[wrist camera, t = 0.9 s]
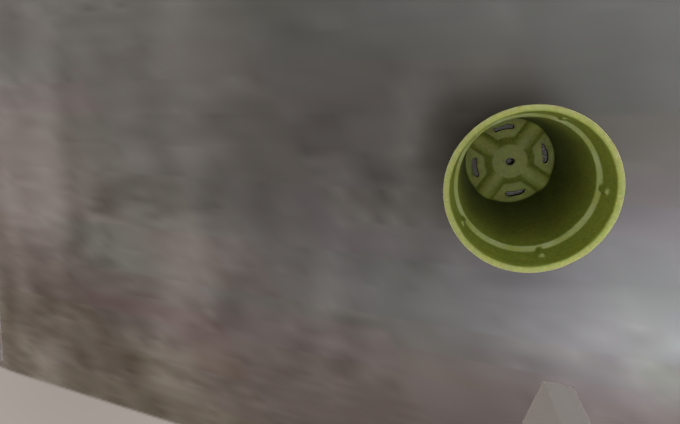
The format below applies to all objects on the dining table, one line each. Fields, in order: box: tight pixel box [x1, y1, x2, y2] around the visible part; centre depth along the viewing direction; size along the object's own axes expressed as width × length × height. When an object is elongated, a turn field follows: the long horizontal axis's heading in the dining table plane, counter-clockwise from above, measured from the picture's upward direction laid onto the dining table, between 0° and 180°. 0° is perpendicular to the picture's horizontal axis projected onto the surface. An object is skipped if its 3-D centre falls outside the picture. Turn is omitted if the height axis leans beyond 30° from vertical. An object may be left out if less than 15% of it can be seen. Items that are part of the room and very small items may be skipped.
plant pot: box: [443, 104, 625, 273], centre depth 32 cm, size 9×9×9 cm
